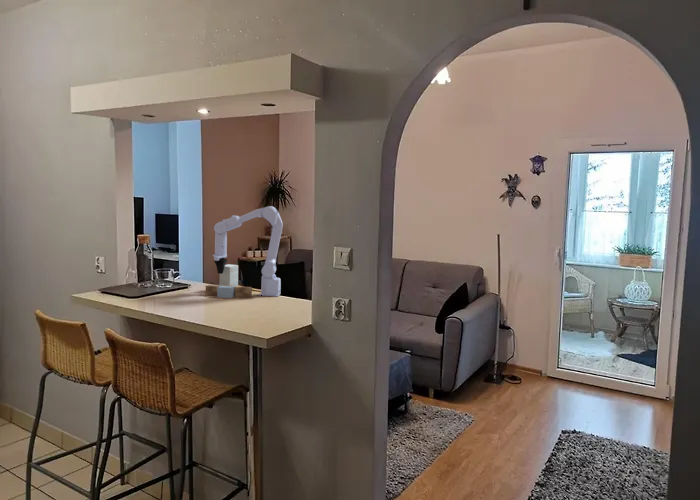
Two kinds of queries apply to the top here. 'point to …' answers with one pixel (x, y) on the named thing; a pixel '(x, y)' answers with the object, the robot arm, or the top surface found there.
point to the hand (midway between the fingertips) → (220, 273)
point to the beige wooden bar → (237, 291)
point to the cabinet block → (225, 291)
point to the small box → (229, 276)
